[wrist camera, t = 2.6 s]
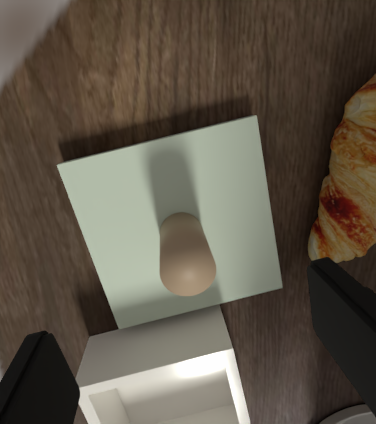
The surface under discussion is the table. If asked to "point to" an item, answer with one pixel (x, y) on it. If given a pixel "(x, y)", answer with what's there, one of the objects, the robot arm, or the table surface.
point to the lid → (177, 221)
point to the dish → (163, 373)
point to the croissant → (349, 184)
